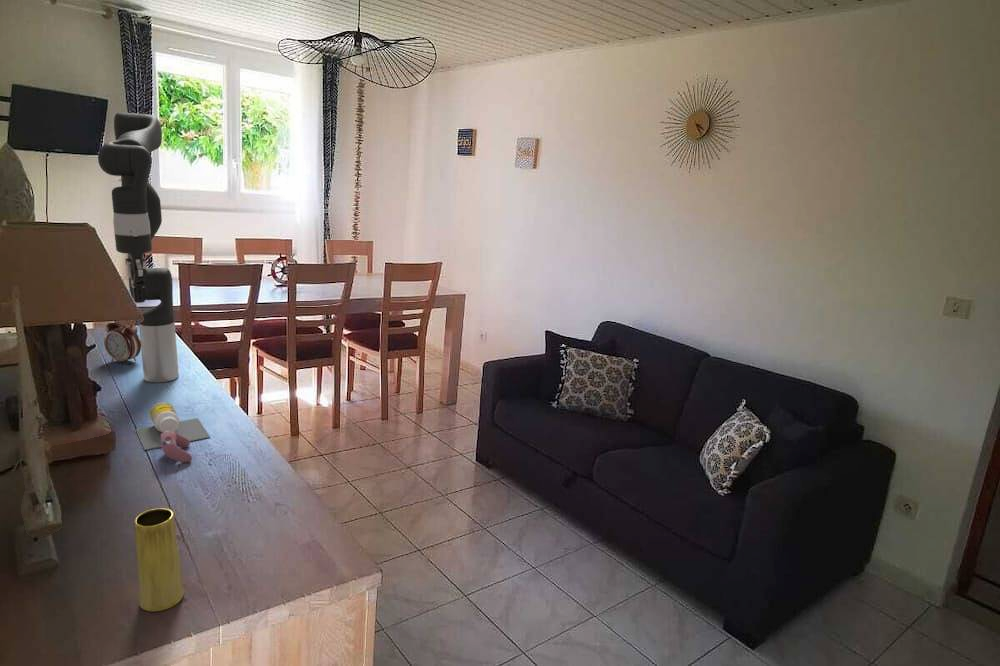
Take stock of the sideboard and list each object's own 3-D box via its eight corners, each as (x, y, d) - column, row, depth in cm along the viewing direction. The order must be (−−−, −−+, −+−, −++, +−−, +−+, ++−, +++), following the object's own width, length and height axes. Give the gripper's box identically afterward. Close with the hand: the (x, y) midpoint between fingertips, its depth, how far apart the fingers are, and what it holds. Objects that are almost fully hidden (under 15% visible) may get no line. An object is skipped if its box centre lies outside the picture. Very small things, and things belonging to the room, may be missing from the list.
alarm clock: (104, 361, 199) (99, 315, 195) (117, 357, 204) (113, 312, 200) (131, 366, 196) (127, 320, 192) (144, 362, 201) (140, 316, 197)
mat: (135, 430, 153) (135, 429, 153) (197, 419, 161) (197, 418, 161) (144, 450, 143) (144, 449, 143) (210, 437, 151) (210, 436, 151)
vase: (142, 617, 93) (133, 533, 89) (136, 594, 97) (128, 513, 94) (187, 603, 96) (180, 521, 92) (180, 581, 101) (173, 502, 97)
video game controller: (172, 453, 146) (155, 430, 143) (191, 442, 147) (174, 420, 144) (174, 472, 137) (155, 448, 134) (194, 460, 139) (176, 437, 136)
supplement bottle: (177, 405, 159) (185, 419, 151) (167, 424, 158) (175, 439, 151) (155, 399, 155) (163, 413, 148) (145, 418, 155) (152, 433, 147)
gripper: (110, 228, 152) (117, 297, 157) (118, 236, 142) (126, 309, 147) (145, 227, 157) (151, 294, 162) (155, 235, 147) (161, 306, 152)
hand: (139, 301), depth 155 cm, fingers closed
